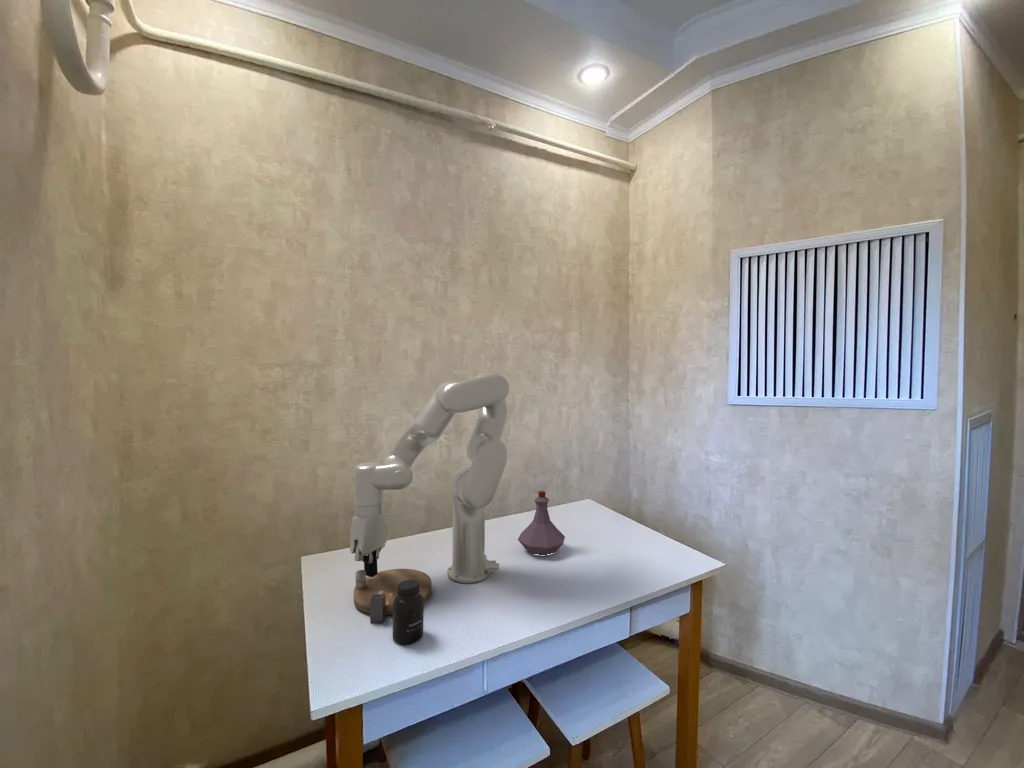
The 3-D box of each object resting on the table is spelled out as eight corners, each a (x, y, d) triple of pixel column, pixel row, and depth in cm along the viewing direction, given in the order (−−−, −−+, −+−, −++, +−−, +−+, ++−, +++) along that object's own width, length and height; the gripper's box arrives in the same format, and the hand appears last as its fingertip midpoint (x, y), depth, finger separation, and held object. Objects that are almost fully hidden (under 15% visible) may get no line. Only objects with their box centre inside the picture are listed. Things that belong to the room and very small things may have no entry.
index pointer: (387, 615, 105) (387, 591, 105) (382, 623, 101) (382, 598, 101) (375, 614, 105) (375, 590, 105) (370, 623, 102) (370, 598, 101)
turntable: (406, 568, 128) (406, 549, 128) (446, 593, 114) (446, 571, 114) (340, 592, 114) (340, 570, 114) (377, 624, 100) (377, 598, 100)
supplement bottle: (415, 648, 93) (416, 593, 92) (386, 644, 94) (386, 590, 94) (428, 629, 99) (428, 578, 99) (401, 626, 101) (401, 575, 100)
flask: (533, 537, 155) (534, 483, 155) (574, 548, 146) (575, 490, 146) (507, 553, 142) (507, 493, 141) (550, 566, 133) (551, 502, 132)
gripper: (377, 499, 125) (378, 561, 125) (337, 515, 111) (339, 585, 111) (398, 502, 122) (399, 565, 122) (360, 519, 108) (362, 590, 109)
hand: (370, 574), depth 117 cm, fingers closed
